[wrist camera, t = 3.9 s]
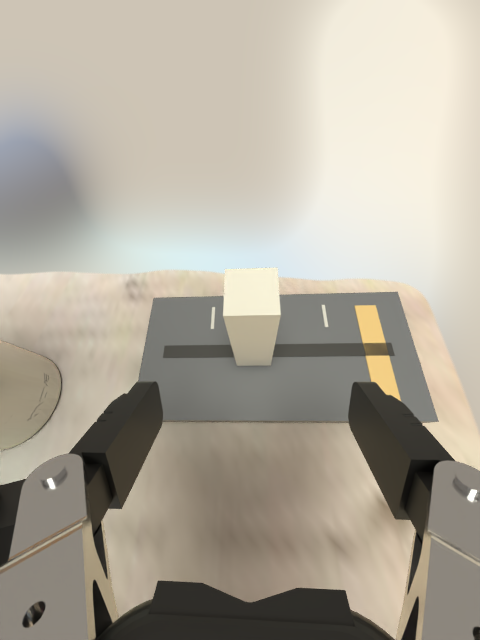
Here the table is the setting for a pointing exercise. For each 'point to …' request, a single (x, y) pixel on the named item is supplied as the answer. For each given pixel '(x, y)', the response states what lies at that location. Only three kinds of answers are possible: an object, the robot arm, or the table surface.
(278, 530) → the table surface
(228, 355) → the fader console
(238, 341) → the fader knob
